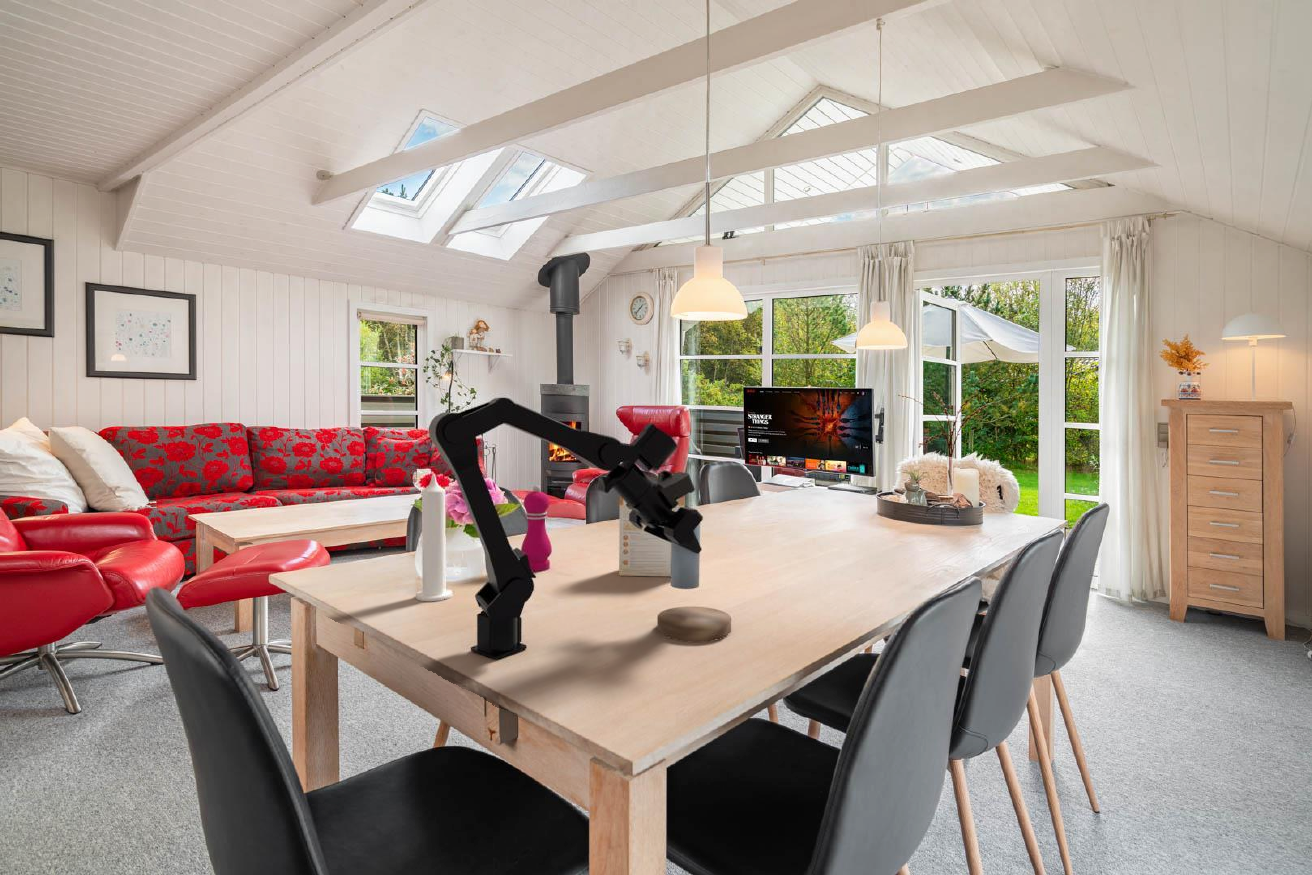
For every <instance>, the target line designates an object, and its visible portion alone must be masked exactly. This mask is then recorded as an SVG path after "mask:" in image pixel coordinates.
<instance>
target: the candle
mask: <svg viewBox="0 0 1312 875" xmlns="http://www.w3.org/2000/svg"><path fill="white" fill-rule="evenodd" d="M421 511H422V512H421V537H422V538H421V540H422V541H421V542H422V543H421V546H422V547H421V548H422V550H421V551H422V552H421V554H422V555H421V556H422V558H421V559H422V560H421V561H422V562H421V564H422V565H421V566H422V571H421V572H422V575H421V576H422V577H421V579H422V584H421V585H422V589H421V590H420V591H418V592H416V594H415V599H416V600H418V601H420V602H439V601H445V600H447V599H451V597H453V591H452V590H451V589H448V588H447V586H446V585H447V582H446V581H447V576H446V574H447V573H446V572H447V569H446V567H447V566H446V564H447V563H446V560H447V558H446V557H447V556H446V552H447V551H446V546H447V545H446V536H447V535H446V490H445V489H444V488H443V487H442V486H440V485H439V483H438V482H437V478H436V474H435V473H433V474H432V475H431V479H430V482H429V485H428V486H426V487H425V488H423V490H422V491H421ZM444 599H445V600H444Z"/></svg>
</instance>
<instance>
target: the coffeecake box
mask: <svg viewBox="0 0 1312 875" xmlns="http://www.w3.org/2000/svg"><path fill="white" fill-rule="evenodd" d="M676 501H677V502H678V505H677V506H676V507H675V508H673V509H672V511H675V512H677V510H678V509H679V508H680V507H685V495H684V496H683V497H681V498H679V499H677V500H676ZM626 504H627V503H626V502H625V501H624V500H623V498H622V497H621V496H620V495H619V520H618V521H619V525H618V526H619V527H618V528H619V529H618V530H619V536H618V538H619V540H618V541H619V542H618V543H619V548H618V549H619V550H618V551H619V553H618V556H619V557H618V562H619V564H618V575H620V576H619V577H621V576H623V577H630V576H631V577H633V576H635V577H670V578H671V543H670V542H668V541H666V540H663V539H661V538H659V537H656V536H654V535H652V534H649V533H647V532H645V531H644V528H645V527H646V526H645V525H644V524H642V523H641V524H642V525H643V528H642V529H639V528H637V527H635V526H634V525H633V524H632V523H631V522H630V521H629V513H630V512H631V511H632V510H631V509H629V508H628V507H627V506H626Z"/></svg>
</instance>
